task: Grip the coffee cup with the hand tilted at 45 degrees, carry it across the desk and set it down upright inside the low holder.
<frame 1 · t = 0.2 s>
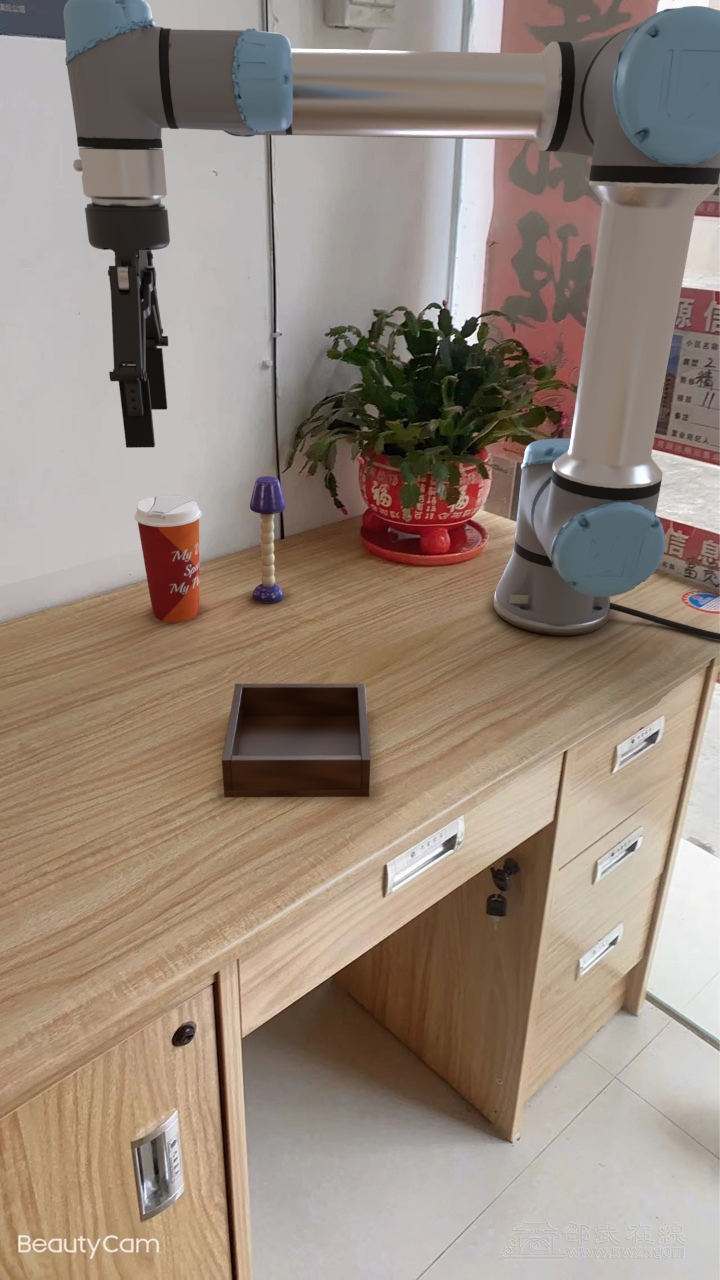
hand: (148, 426, 93), 28 cm above the table, tool pointing down, fingers open, 13 cm apart
coffee cup: (176, 613, 116), on the table
holder: (298, 754, 89), on the table
toy lamp: (270, 597, 121), on the table
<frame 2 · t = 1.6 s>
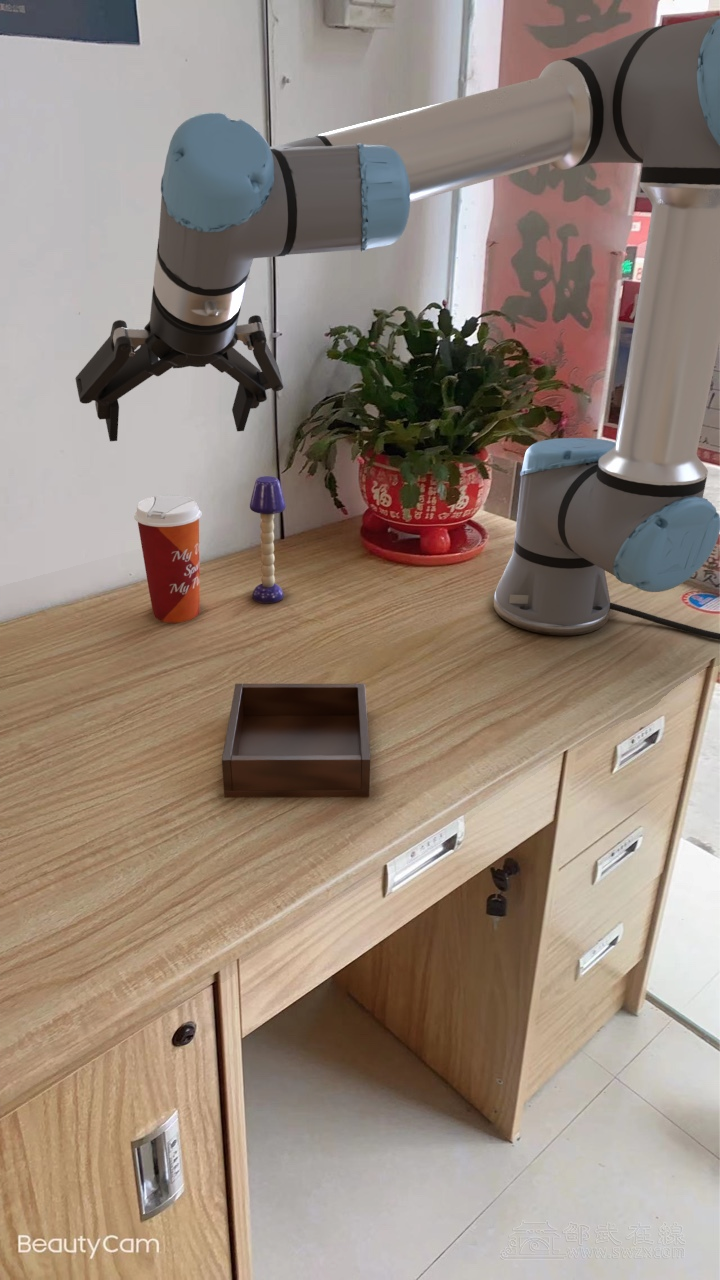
hand: (176, 425, 95), 27 cm above the table, tool tilted 45°, fingers open, 13 cm apart
nothing on the table moved.
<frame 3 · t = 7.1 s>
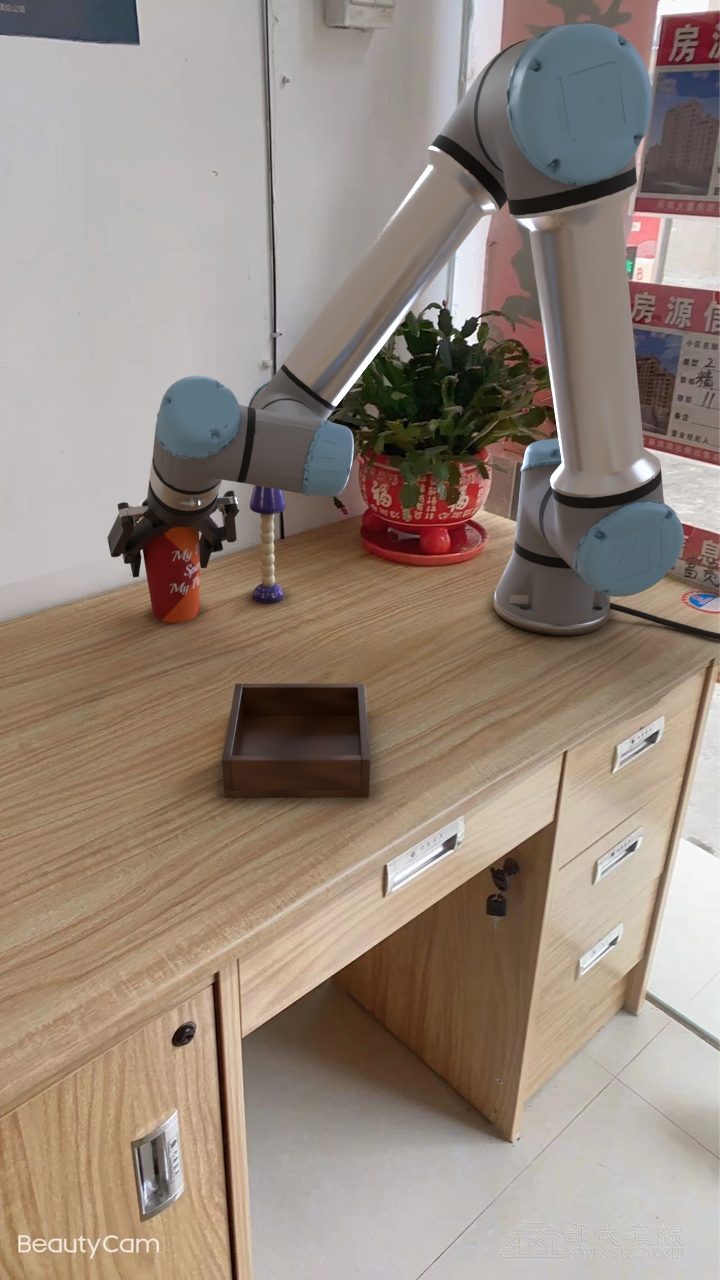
hand: (168, 563, 116), 6 cm above the table, tool tilted 45°, fingers closed on coffee cup, 8 cm apart
coffee cup: (176, 613, 116), on the table, touching gripper
everything else where it was.
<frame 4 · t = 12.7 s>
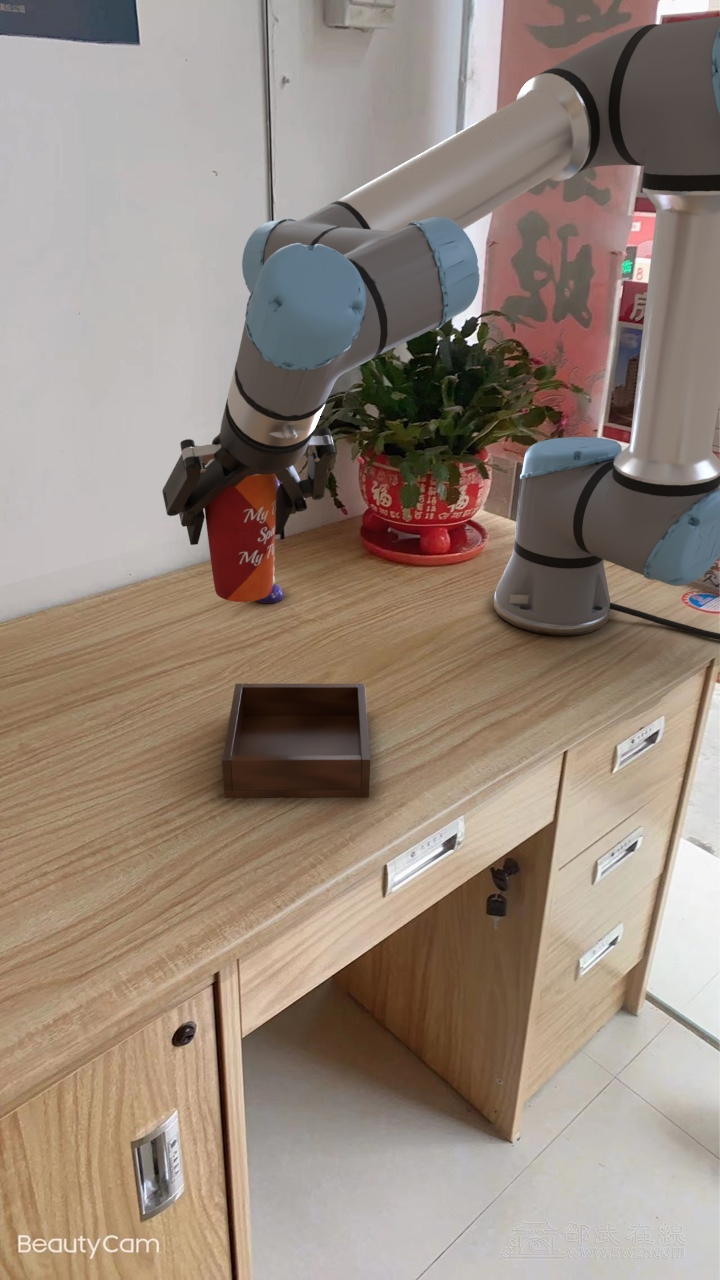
hand: (233, 527, 92), 19 cm above the table, tool tilted 45°, fingers closed on coffee cup, 8 cm apart
coffee cup: (244, 591, 93), point 13 cm above the table, touching gripper
everything else where it was.
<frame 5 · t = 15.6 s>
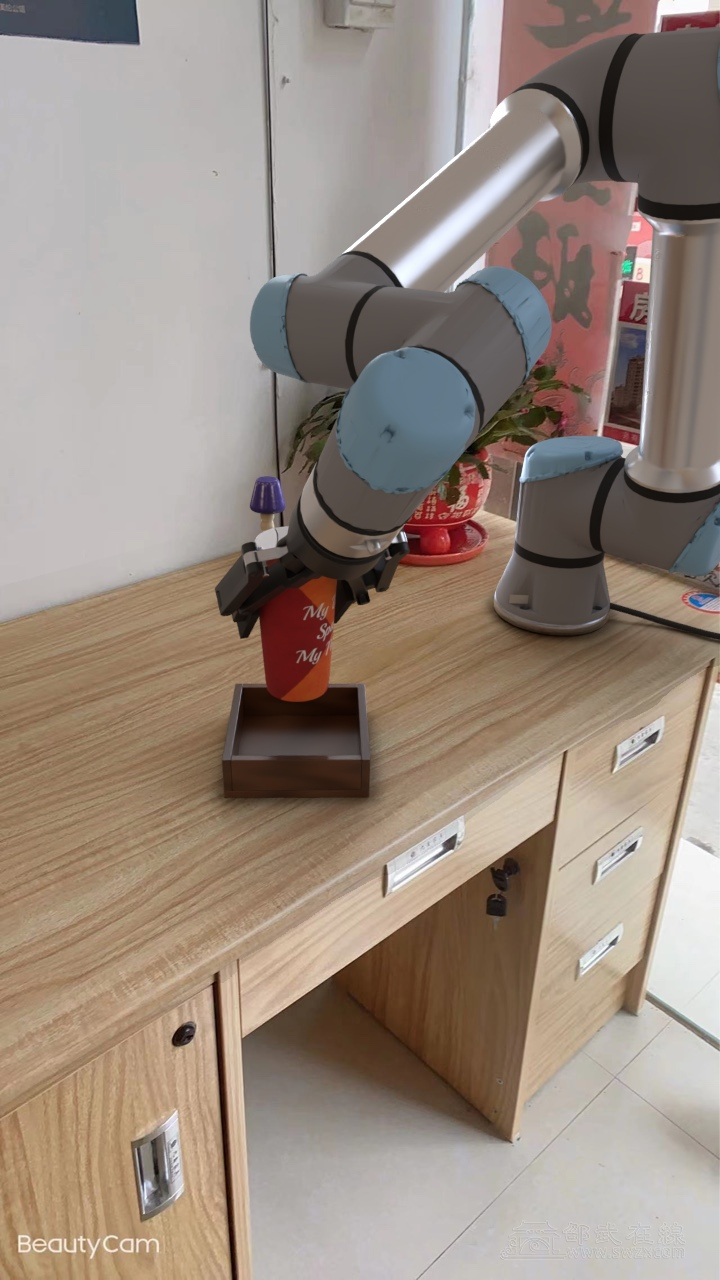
hand: (286, 617, 85), 14 cm above the table, tool tilted 45°, fingers closed on coffee cup, 8 cm apart
coffee cup: (297, 687, 85), point 8 cm above the table, touching gripper
everything else where it was.
when the fingers open (6 cm above the table, at t = 18.1 s): coffee cup stays where it is, resting on holder.
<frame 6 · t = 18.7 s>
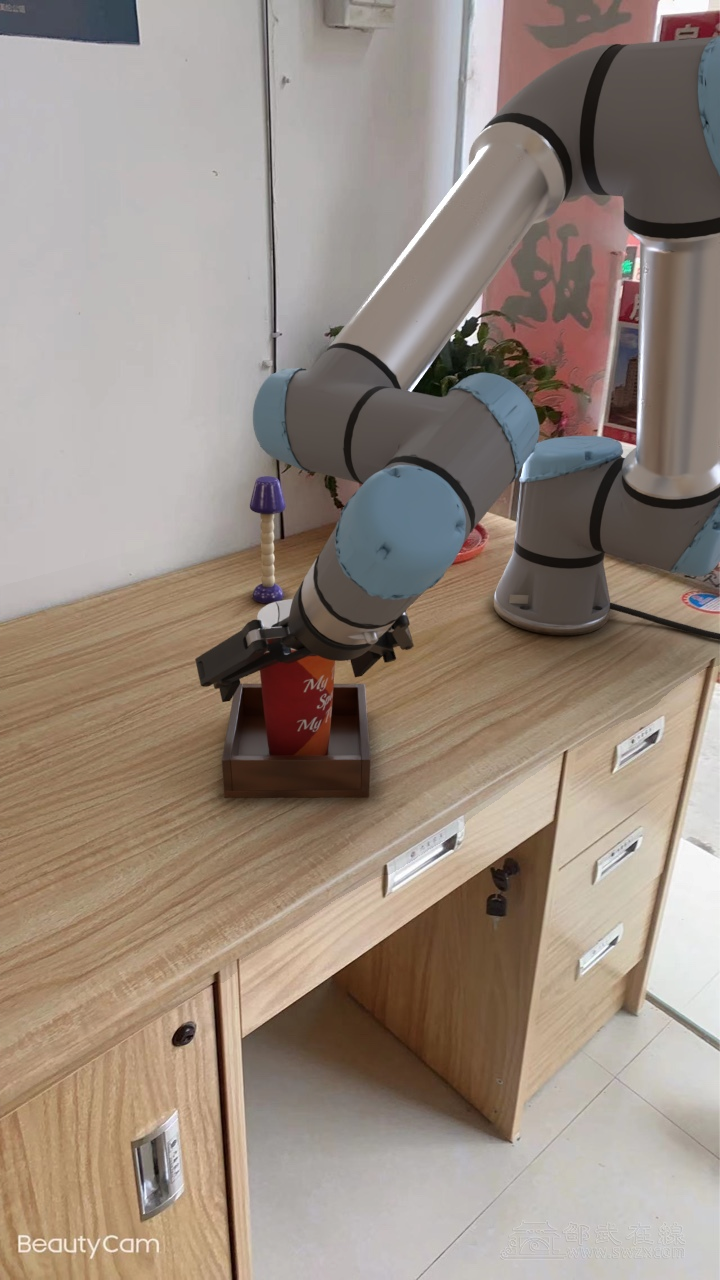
hand: (290, 676, 87), 8 cm above the table, tool tilted 45°, fingers open, 13 cm apart
coffee cup: (298, 750, 88), point 1 cm above the table, touching holder
everything else where it was.
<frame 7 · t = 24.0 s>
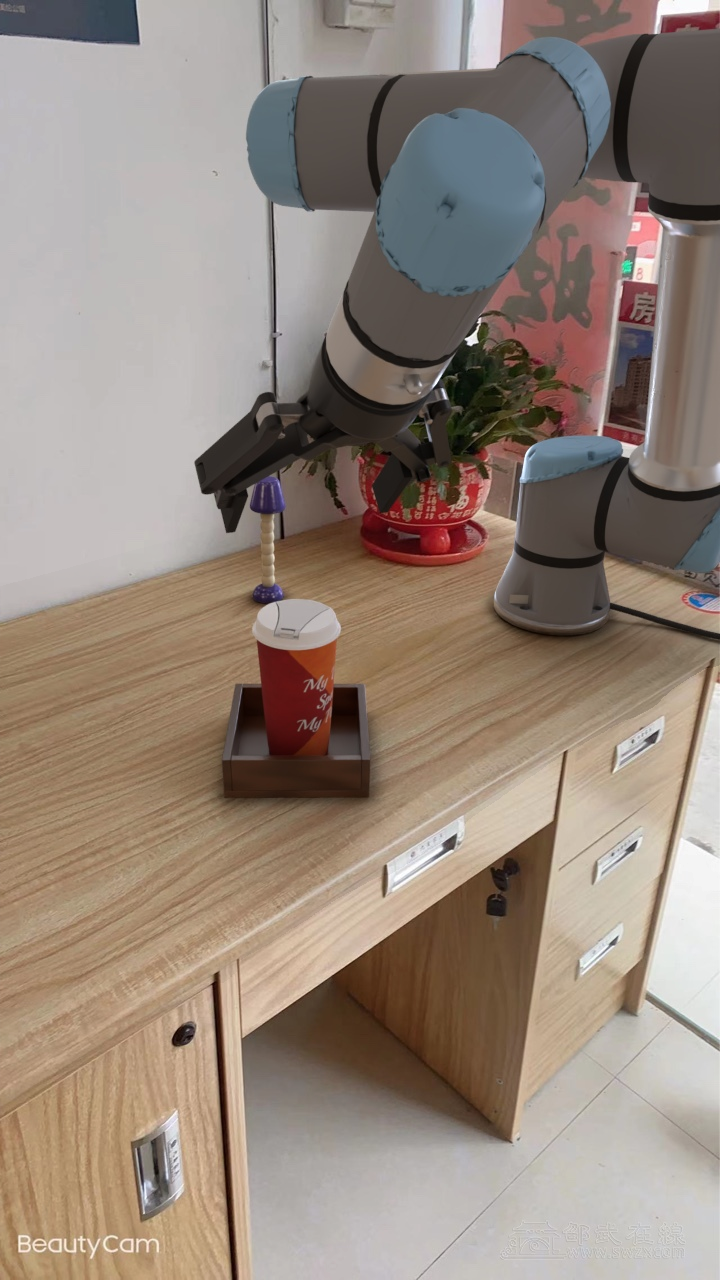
hand: (305, 508, 74), 27 cm above the table, tool tilted 45°, fingers open, 13 cm apart
nothing on the table moved.
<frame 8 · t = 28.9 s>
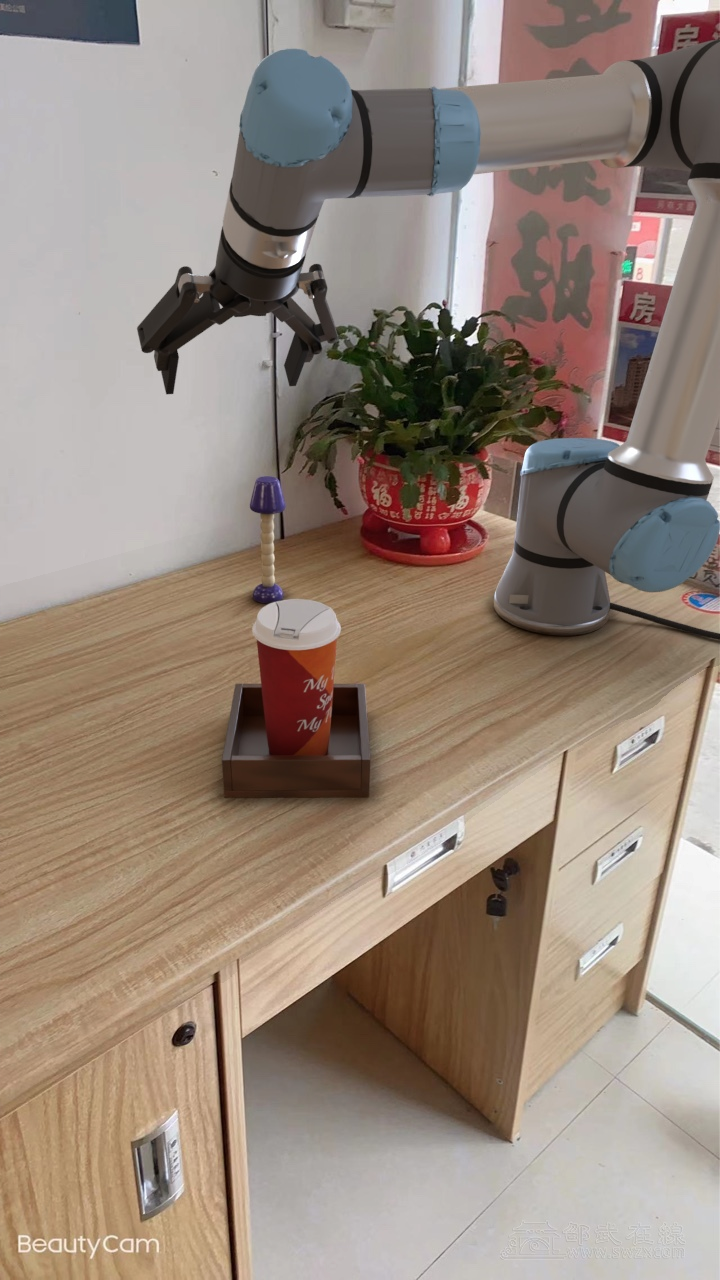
hand: (230, 379, 96), 32 cm above the table, tool tilted 45°, fingers open, 13 cm apart
nothing on the table moved.
at the end: coffee cup 0.1 cm off-centre in the holder, point 0.6 cm above the holder's base; coffee cup tilted 0° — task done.
